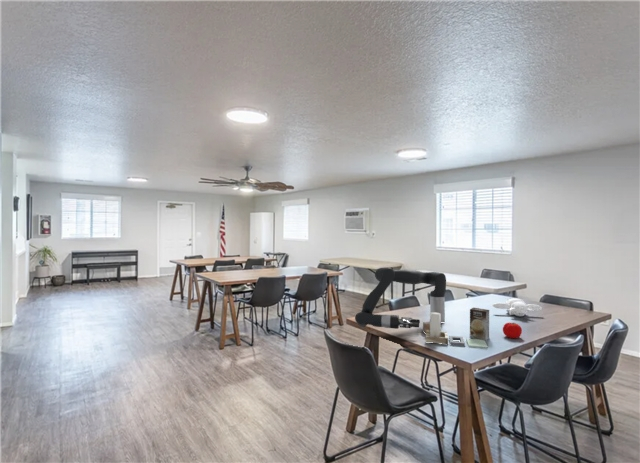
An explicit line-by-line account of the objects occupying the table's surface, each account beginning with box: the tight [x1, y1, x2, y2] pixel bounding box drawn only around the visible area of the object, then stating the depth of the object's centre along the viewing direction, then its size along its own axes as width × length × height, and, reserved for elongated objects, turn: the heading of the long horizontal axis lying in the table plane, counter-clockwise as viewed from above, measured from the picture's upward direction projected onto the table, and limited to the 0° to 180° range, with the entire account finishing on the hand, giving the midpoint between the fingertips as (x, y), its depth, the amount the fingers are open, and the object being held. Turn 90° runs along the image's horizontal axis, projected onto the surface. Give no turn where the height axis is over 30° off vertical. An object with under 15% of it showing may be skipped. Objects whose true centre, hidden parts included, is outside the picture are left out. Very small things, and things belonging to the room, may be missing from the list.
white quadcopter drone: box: [492, 297, 543, 317], centre depth 253 cm, size 24×30×11 cm
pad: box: [466, 338, 489, 349], centre depth 186 cm, size 12×9×1 cm
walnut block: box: [422, 321, 430, 333], centre depth 207 cm, size 4×4×6 cm
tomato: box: [502, 322, 523, 339], centre depth 198 cm, size 9×10×8 cm
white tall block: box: [429, 312, 442, 337], centre depth 192 cm, size 6×6×15 cm
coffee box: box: [469, 307, 490, 341], centre depth 197 cm, size 9×6×16 cm
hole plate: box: [448, 335, 466, 347], centre depth 189 cm, size 12×7×2 cm, turn 163°
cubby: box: [425, 331, 449, 345], centre depth 192 cm, size 12×11×4 cm
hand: (419, 323), depth 195 cm, fingers open, 8 cm apart
